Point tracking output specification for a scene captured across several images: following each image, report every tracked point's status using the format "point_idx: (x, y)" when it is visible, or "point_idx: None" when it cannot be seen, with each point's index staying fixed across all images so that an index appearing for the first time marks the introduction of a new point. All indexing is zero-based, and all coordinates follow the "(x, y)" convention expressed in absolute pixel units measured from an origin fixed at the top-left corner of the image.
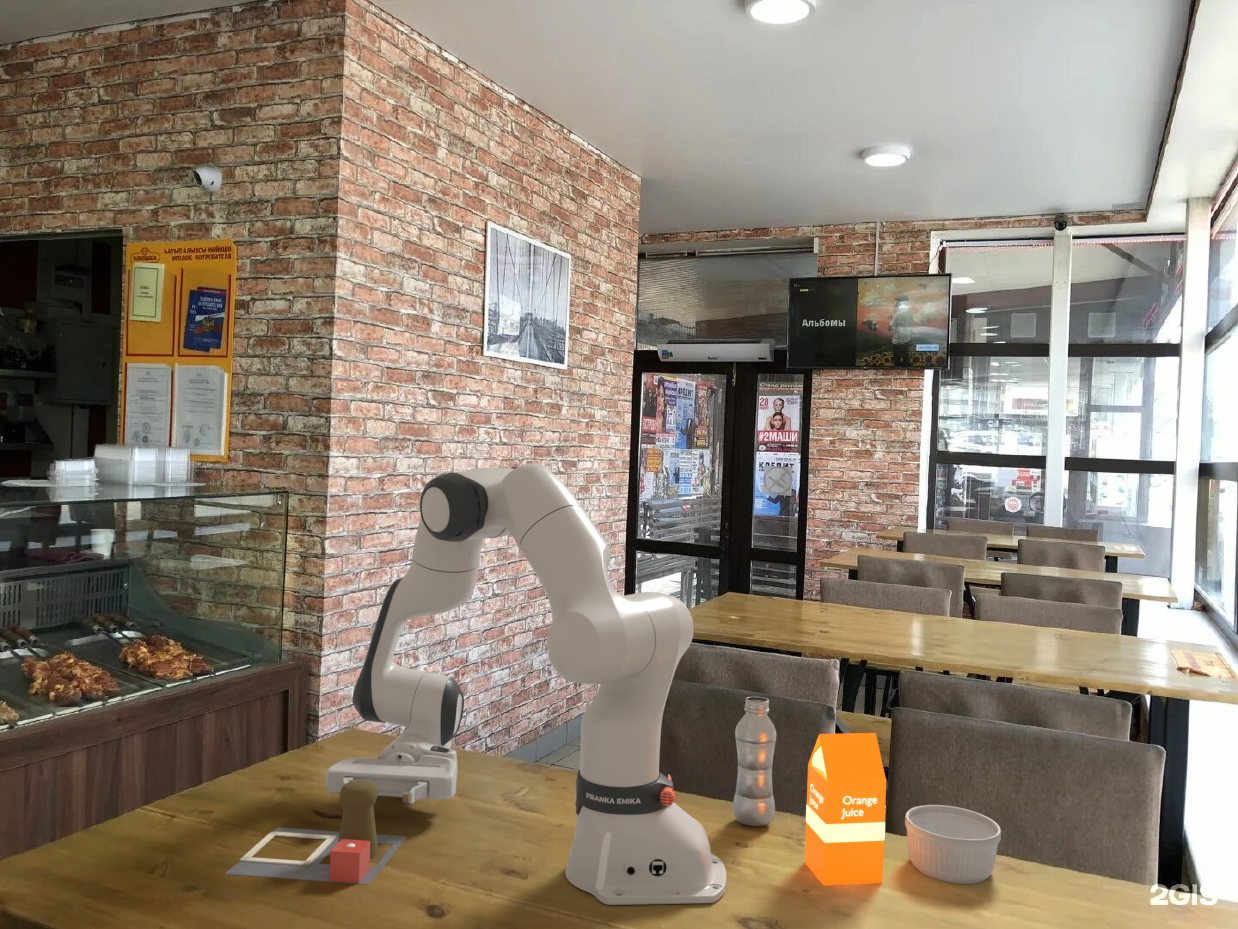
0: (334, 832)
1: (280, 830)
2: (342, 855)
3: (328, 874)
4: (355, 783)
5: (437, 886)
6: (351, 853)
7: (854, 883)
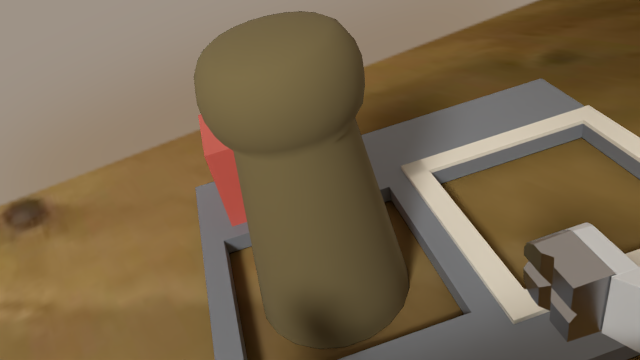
0: (568, 351)
1: None
2: None
3: None
4: (274, 19)
5: (32, 285)
6: None
7: None
